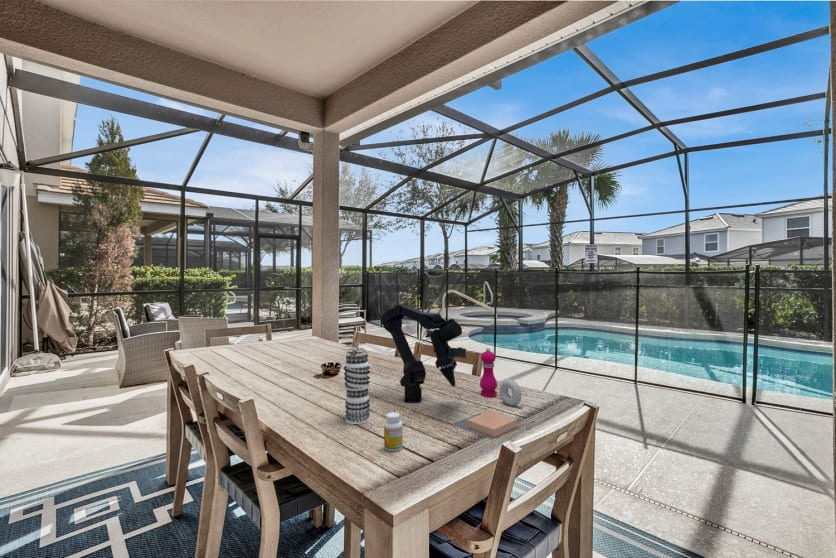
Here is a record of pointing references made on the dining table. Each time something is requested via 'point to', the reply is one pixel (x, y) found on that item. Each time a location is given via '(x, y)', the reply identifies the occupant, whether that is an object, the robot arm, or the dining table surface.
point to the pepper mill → (488, 374)
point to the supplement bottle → (393, 432)
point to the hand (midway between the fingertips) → (454, 386)
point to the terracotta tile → (492, 423)
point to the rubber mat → (464, 425)
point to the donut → (515, 392)
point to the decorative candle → (357, 386)
